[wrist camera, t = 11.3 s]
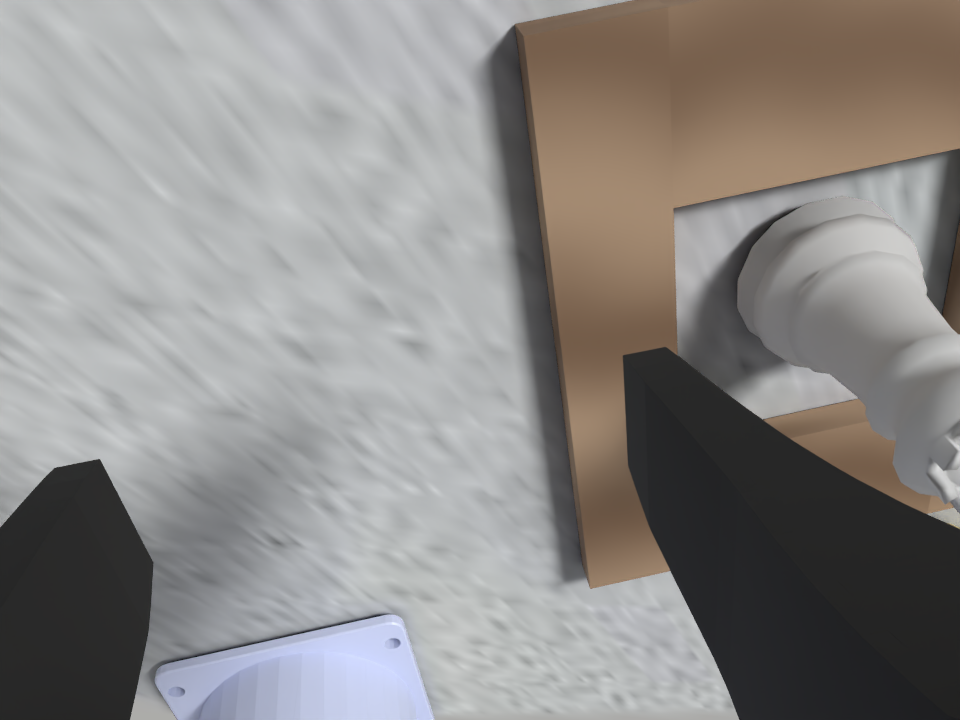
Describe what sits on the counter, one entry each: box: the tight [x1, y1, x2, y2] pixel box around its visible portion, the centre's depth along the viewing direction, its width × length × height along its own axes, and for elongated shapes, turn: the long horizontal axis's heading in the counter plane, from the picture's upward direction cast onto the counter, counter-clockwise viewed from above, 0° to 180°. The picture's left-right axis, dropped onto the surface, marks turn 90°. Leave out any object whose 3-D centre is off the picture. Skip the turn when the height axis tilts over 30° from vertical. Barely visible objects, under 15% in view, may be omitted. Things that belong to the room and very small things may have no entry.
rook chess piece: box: [737, 196, 960, 513], centre depth 20 cm, size 4×4×8 cm
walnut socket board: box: [515, 0, 960, 589], centre depth 23 cm, size 17×14×1 cm
